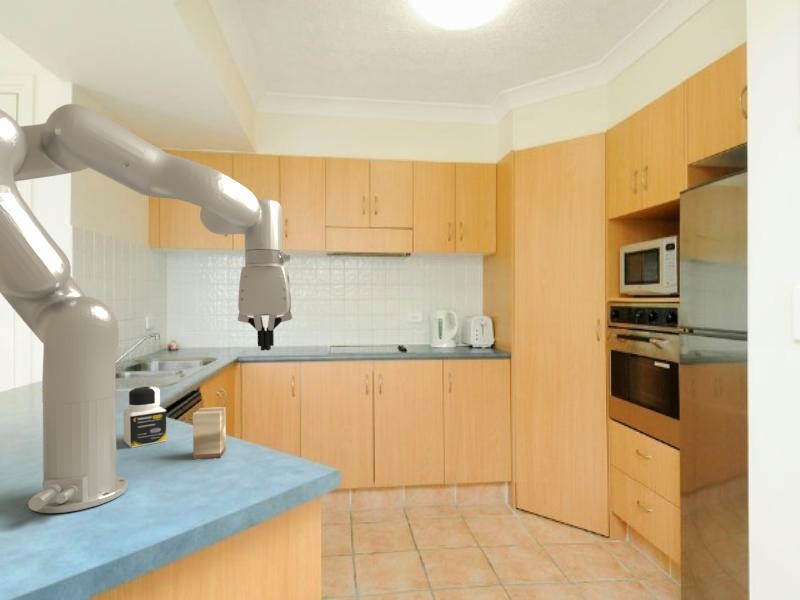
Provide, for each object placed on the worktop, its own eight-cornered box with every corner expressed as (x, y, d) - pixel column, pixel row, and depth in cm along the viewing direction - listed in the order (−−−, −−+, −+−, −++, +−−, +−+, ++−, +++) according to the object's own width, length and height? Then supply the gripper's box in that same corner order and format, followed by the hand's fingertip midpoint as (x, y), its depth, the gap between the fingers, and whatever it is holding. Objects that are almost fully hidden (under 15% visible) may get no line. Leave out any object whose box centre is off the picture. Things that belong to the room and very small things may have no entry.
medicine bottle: (130, 448, 98) (130, 391, 99) (123, 441, 104) (122, 387, 104) (166, 441, 103) (166, 387, 103) (158, 435, 108) (157, 383, 109)
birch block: (220, 458, 91) (219, 412, 91) (193, 459, 90) (192, 413, 90) (225, 450, 96) (225, 406, 96) (200, 451, 95) (200, 408, 95)
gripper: (302, 262, 100) (304, 347, 100) (230, 262, 98) (231, 349, 98) (300, 258, 93) (301, 350, 93) (222, 259, 90) (223, 353, 90)
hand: (265, 349), depth 95 cm, fingers closed
